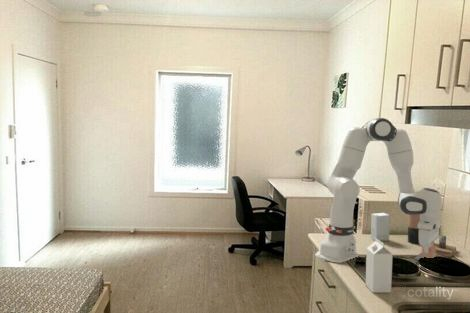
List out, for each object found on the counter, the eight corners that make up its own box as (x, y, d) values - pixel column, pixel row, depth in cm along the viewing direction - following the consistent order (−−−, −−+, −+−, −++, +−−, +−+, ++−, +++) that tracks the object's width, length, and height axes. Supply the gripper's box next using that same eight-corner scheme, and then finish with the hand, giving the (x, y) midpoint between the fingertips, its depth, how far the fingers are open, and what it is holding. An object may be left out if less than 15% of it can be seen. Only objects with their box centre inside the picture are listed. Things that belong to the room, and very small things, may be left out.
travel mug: (425, 244, 196) (427, 208, 195) (411, 244, 196) (412, 208, 195) (418, 240, 204) (420, 205, 202) (404, 240, 204) (406, 205, 203)
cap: (432, 260, 170) (433, 248, 170) (421, 258, 174) (421, 246, 173) (435, 258, 174) (436, 246, 173) (424, 255, 177) (424, 243, 177)
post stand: (450, 256, 177) (451, 240, 177) (428, 252, 184) (428, 236, 183) (456, 250, 186) (456, 235, 185) (434, 246, 193) (435, 231, 192)
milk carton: (382, 284, 144) (384, 238, 143) (391, 292, 137) (393, 243, 136) (365, 285, 144) (366, 238, 142) (372, 293, 137) (374, 243, 135)
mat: (437, 264, 166) (437, 263, 166) (413, 259, 173) (413, 258, 173) (443, 258, 174) (443, 257, 174) (420, 253, 181) (420, 253, 181)
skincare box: (383, 237, 208) (384, 212, 207) (389, 241, 202) (390, 214, 201) (370, 238, 206) (370, 213, 205) (376, 241, 201) (376, 215, 200)
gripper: (428, 217, 182) (427, 244, 183) (416, 225, 167) (415, 254, 168) (443, 219, 178) (441, 247, 179) (431, 227, 163) (430, 257, 164)
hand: (428, 250), depth 173 cm, fingers open, 5 cm apart
